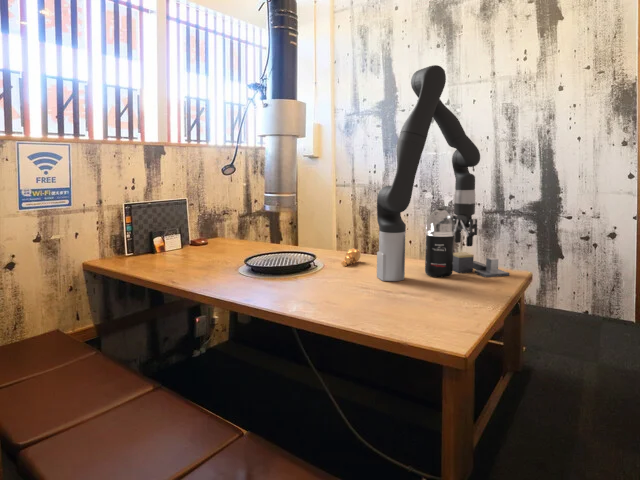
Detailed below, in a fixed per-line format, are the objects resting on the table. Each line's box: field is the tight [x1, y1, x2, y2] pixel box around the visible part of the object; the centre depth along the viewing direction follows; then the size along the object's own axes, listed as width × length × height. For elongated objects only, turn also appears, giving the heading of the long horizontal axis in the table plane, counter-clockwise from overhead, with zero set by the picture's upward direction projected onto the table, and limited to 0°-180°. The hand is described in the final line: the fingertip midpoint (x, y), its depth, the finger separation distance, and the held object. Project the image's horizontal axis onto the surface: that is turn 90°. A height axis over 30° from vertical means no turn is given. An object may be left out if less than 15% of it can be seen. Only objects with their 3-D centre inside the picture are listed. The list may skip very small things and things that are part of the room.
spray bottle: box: [424, 207, 455, 278], centre depth 164 cm, size 10×10×25 cm
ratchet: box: [473, 257, 510, 278], centre depth 170 cm, size 10×16×6 cm, turn 12°
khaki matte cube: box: [453, 251, 475, 274], centre depth 171 cm, size 6×6×7 cm
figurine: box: [340, 248, 361, 267], centre depth 186 cm, size 8×6×12 cm
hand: (463, 244), depth 170 cm, fingers open, 8 cm apart
